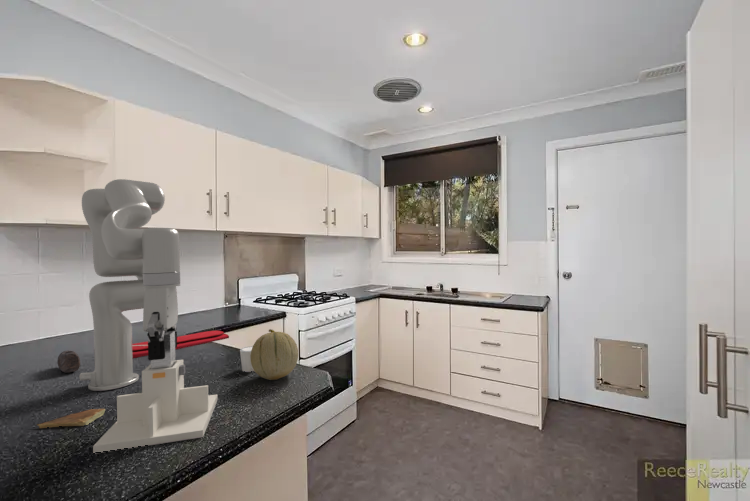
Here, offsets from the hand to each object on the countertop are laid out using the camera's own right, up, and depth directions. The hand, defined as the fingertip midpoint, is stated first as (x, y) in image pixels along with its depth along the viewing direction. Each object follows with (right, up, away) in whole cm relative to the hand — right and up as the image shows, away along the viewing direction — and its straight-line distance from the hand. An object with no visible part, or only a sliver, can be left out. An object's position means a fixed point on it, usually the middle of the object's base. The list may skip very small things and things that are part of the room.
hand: (163, 353), depth 82 cm
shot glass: (+7, -17, +37) cm, 41 cm away
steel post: (0, -13, 0) cm, 13 cm away
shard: (-22, -18, +1) cm, 28 cm away
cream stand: (0, -16, 0) cm, 16 cm away
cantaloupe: (+18, -16, +28) cm, 37 cm away
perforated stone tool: (-58, -18, +41) cm, 73 cm away
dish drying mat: (-38, -18, +72) cm, 83 cm away
